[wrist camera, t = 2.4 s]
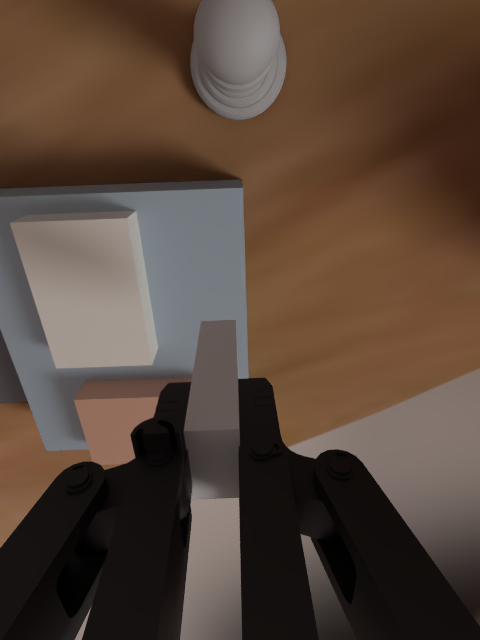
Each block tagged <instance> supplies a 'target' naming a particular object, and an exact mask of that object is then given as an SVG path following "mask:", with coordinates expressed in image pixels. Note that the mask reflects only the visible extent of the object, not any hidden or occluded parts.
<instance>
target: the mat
mask: <svg viewBox="0 0 480 640" xmlns="http://www.w3.org/2000/svg"><path fill="white" fill-rule="evenodd" d="M10 402H28V401H27V398H26V395H25V393H24V390H23V387H22V385H21V382H20V379H19V377H18V374H17V372H16V369H15V366H14V364H13V361H12V358H11V356H10V353H9V351H8V348H7V345H6V343H5V340H4V337H3V335H2V332H1V329H0V403H10Z"/></svg>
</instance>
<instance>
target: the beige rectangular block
mask: <svg viewBox="0 0 480 640" xmlns="http://www.w3.org/2000/svg"><path fill="white" fill-rule="evenodd" d="M10 226H11V229H12V232H13V235H14V238H15V241H16V244H17V248H18V251H19V254H20V257H21V260H22V263H23V266H24V270H25V273H26V276H27V279H28V282H29V285H30V288H31V292H32V295H33V298H34V301H35V304H36V307H37V310H38V313H39V317H40V320H41V323H42V326H43V329H44V332H45V335H46V339H47V342H48V345H49V348H50V351H51V354H52V357H53V361H54V364H55V367H56V369H58V368H86V367H114V366H143V365H152V364H153V361H154V359H155V356H156V353H157V350H158V344H157V338H156V332H155V325H154V319H153V313H152V307H151V300H150V294H149V288H148V282H147V275H146V269H145V263H144V257H143V250H142V244H141V238H140V232H139V226H138V219H137V213H136V211H116V212H89V213H63V214H37V215H27V216H25V217H22V218H20V219H17V220H15V221H12V222H10Z"/></svg>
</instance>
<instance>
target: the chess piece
mask: <svg viewBox="0 0 480 640" xmlns="http://www.w3.org/2000/svg"><path fill="white" fill-rule="evenodd" d="M190 68H191V75H192V79H193V83H194V86H195V88H196V90H197V93H198V94H199V96H200V98H201V99H202V101H203V102H204V103H205V104H206V105H207V106H208V107H209V108H210V109H211V110H212V111H213V112H215V113H216V114H218V115H220V116H222V117H224V118H228V119H232V120H245V119H250V118H252V117H255V116H257V115H259V114H261V113H262V112H264V111H265V110H266V109H267V108H268V107H269V106H270V105H271V104H272V103H273V102H274V100H275V99H276V97H277V96H278V94H279V92H280V90H281V88H282V85H283V82H284V78H285V73H286V51H285V46H284V42H283V39H282V36H281V34H280V25H279V19H278V15H277V11H276V9H275V6H274V4H273V2H272V0H202V1H201V3H200V5H199V7H198V10H197V13H196V16H195V21H194V40H193V44H192V48H191V55H190Z"/></svg>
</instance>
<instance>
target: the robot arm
mask: <svg viewBox="0 0 480 640" xmlns="http://www.w3.org/2000/svg"><path fill="white" fill-rule="evenodd" d="M130 436H131V441H132V445H133V450H134V454H135V459H133V460H131V461H130V462H128V463H125V464H123V465H120V466H117V467H114V468H111V469H107V470H104V469H103V468H102V466H101V465H100V464H98V463H95V462H81V463H78V464H74V465H72V466H70V467H69V468H67V469H65V470H64V471H63V472H62V473H61V474H59V475H58V476H57V477H56V479H55V480H54V481H53V482H52V484H51V485H50V486H49V487H48V489H47V490H46V491H45V492H44V494H43V495H42V496H41V497H40V499H39V500H38V501H37V503H36V504H35V505H34V506H33V508H32V509H31V510H30V511H29V513H28V514H27V515H26V516H25V518H24V519H23V520H22V522H21V523H20V524H19V525H18V527H17V528H16V529H15V530H14V532H13V533H12V534H11V535H10V537H9V538H8V539H7V541H6V542H5V543H4V544H3V546H2V547H1V548H0V640H74V639H75V638H76V636H77V634H78V632H79V630H80V628H81V626H82V624H83V621H84V620H85V618H86V616H87V614H88V612H89V610H90V608H91V610H90V614H89V617H88V621H87V624H86V627H85V631H84V635H83V638H82V640H180V632H181V623H182V613H183V602H184V593H185V582H186V572H187V562H188V552H189V542H190V531H191V521H192V514H191V506H190V503H191V493H192V496H193V499H213V498H214V499H216V498H239V507H240V553H241V596H242V597H241V600H242V640H319V639H318V633H317V627H316V621H315V616H314V610H313V604H312V598H311V593H310V587H309V582H308V575H307V569H306V564H305V558H304V552H303V547H302V541H301V535H300V534H303V535H306V536H309V537H311V540H312V542H313V544H314V547H315V549H316V551H317V553H318V555H319V557H320V560H321V562H322V564H323V566H324V569H325V571H326V573H327V575H328V578H329V580H330V582H331V584H332V586H333V589H334V591H335V593H336V595H337V598H338V600H339V602H340V604H341V606H342V609H343V611H344V613H345V615H346V618H347V620H348V622H349V624H350V626H351V629H352V631H353V633H354V635H355V637H356V640H480V626H479V625H478V623H477V622H476V620H475V619H474V618H473V616H472V615H471V613H470V612H469V611H468V609H467V608H466V606H465V605H464V604H463V602H462V601H461V599H460V598H459V597H458V595H457V594H456V593H455V591H454V590H453V588H452V587H451V586H450V584H449V583H448V581H447V580H446V579H445V577H444V576H443V574H442V573H441V572H440V570H439V569H438V567H437V566H436V565H435V563H434V562H433V561H432V559H431V558H430V556H429V555H428V553H427V552H426V551H425V549H424V548H423V546H422V545H421V544H420V542H419V541H418V540H417V538H416V537H415V535H414V534H413V533H412V531H411V530H410V529H409V527H408V526H407V524H406V523H405V521H404V520H403V519H402V517H401V516H400V514H399V513H398V512H397V510H396V509H395V508H394V506H393V505H392V503H391V502H390V500H389V499H388V498H387V496H386V495H385V493H384V492H383V491H382V489H381V488H380V486H379V485H378V484H377V482H376V481H375V480H374V478H373V477H372V475H371V474H370V473H369V472H368V470H367V468H366V467H365V466H364V464H363V463H362V462H361V461H360V460H359V459H358V458H357V457H356V456H354V455H353V454H351V453H349V452H347V451H342V450H327V451H325V452H323V453H321V454H320V455H319V456H318V457H317V458H316V459H314V458H309V457H305V456H302V455H299V454H296V453H294V452H292V451H291V450H290V449H288V448H287V447H286V446H285V444H284V443H283V441H282V438H281V434H280V429H279V423H278V417H277V411H276V406H275V399H274V393H273V387H272V385H271V384H270V383H269V382H268V380H267V379H266V378H247V379H238V355H237V333H236V320H217V321H201V325H200V331H199V337H198V344H197V350H196V356H195V363H194V369H193V375H192V382H175V383H168V384H167V385H166V386H165V387H164V388H163V389H162V391H161V392H160V395H159V399H158V404H157V406H156V410H155V413H154V417H153V418H150V419H147V420H145V421H143V422H141V423H140V424H139V425H137V426H136V427H135V428H134V429H133V431H132V433H131V434H130ZM91 606H92V607H91Z"/></svg>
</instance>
